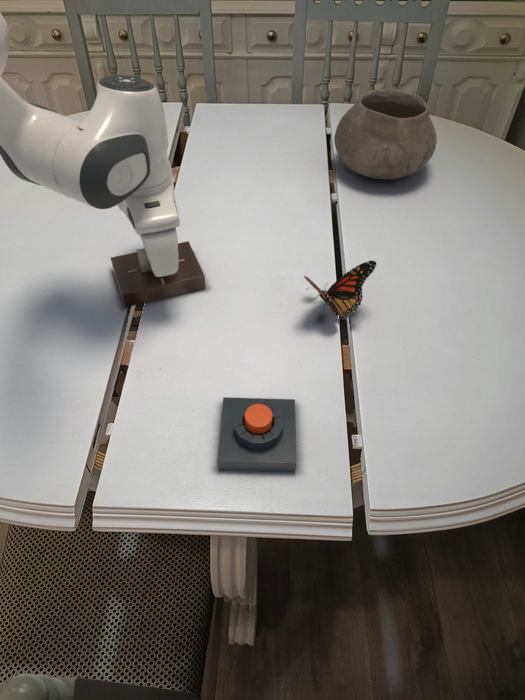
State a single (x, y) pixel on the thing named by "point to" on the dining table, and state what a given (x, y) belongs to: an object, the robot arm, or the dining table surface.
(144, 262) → the dial knob
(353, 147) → the clay pot
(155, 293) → the dial panel
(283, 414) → the button box
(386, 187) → the dining table surface
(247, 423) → the orange button
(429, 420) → the dining table surface
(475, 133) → the dining table surface
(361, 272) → the butterfly
